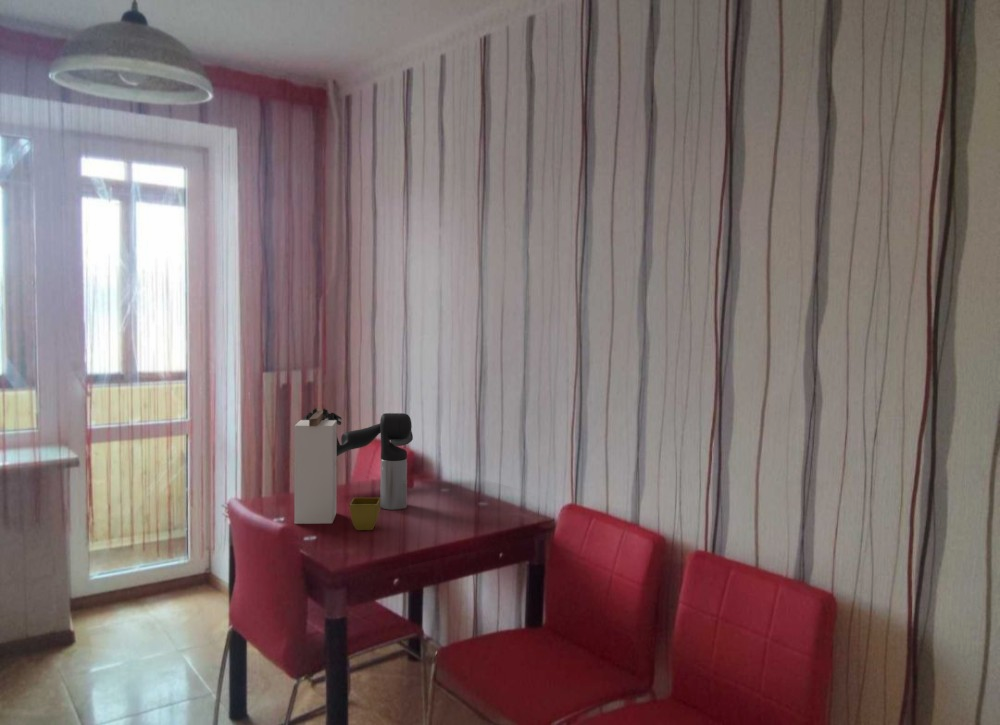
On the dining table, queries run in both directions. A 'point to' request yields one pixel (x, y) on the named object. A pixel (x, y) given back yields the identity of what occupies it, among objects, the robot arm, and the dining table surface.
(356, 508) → the flower pot
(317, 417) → the walnut bar
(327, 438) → the off-white column
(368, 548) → the dining table surface
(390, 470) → the robot arm
